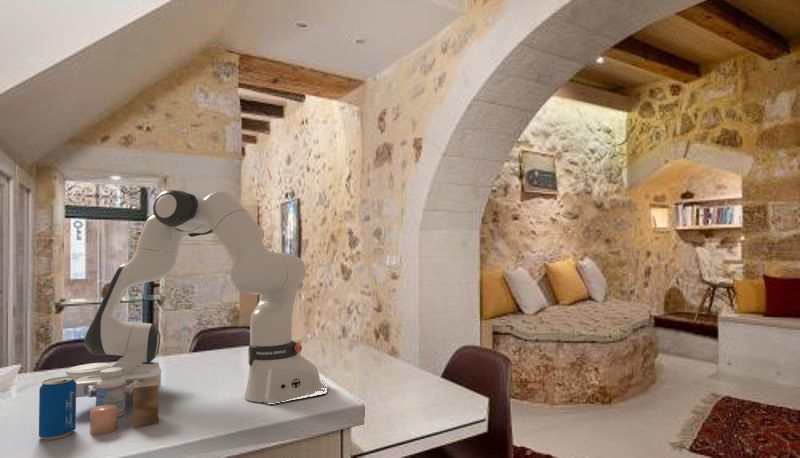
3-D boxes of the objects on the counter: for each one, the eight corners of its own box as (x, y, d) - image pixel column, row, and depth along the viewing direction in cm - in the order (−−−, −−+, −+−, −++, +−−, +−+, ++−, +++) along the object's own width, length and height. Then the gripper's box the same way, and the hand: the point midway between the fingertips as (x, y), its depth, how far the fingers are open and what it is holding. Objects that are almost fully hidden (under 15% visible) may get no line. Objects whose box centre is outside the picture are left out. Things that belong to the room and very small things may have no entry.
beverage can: (55, 442, 96) (56, 384, 96) (30, 440, 97) (31, 383, 98) (82, 430, 102) (83, 376, 103) (59, 428, 103) (59, 375, 104)
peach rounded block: (119, 425, 105) (119, 403, 105) (113, 433, 100) (113, 410, 100) (94, 428, 103) (94, 406, 103) (87, 437, 98) (87, 413, 99)
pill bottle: (93, 416, 111) (93, 369, 111) (121, 409, 115) (122, 364, 115) (98, 422, 106) (99, 374, 107) (128, 415, 111) (128, 369, 111)
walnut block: (157, 417, 109) (157, 379, 110) (158, 423, 105) (158, 384, 105) (133, 421, 107) (133, 382, 107) (133, 428, 103) (133, 388, 103)
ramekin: (89, 391, 132) (89, 372, 132) (55, 389, 133) (56, 371, 134) (118, 379, 143) (118, 362, 143) (87, 378, 144) (87, 362, 145)
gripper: (79, 369, 120) (59, 383, 107) (165, 361, 127) (156, 374, 114) (78, 393, 120) (58, 411, 107) (165, 384, 126) (156, 399, 113)
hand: (110, 392), depth 110 cm, fingers closed on pill bottle, 6 cm apart
